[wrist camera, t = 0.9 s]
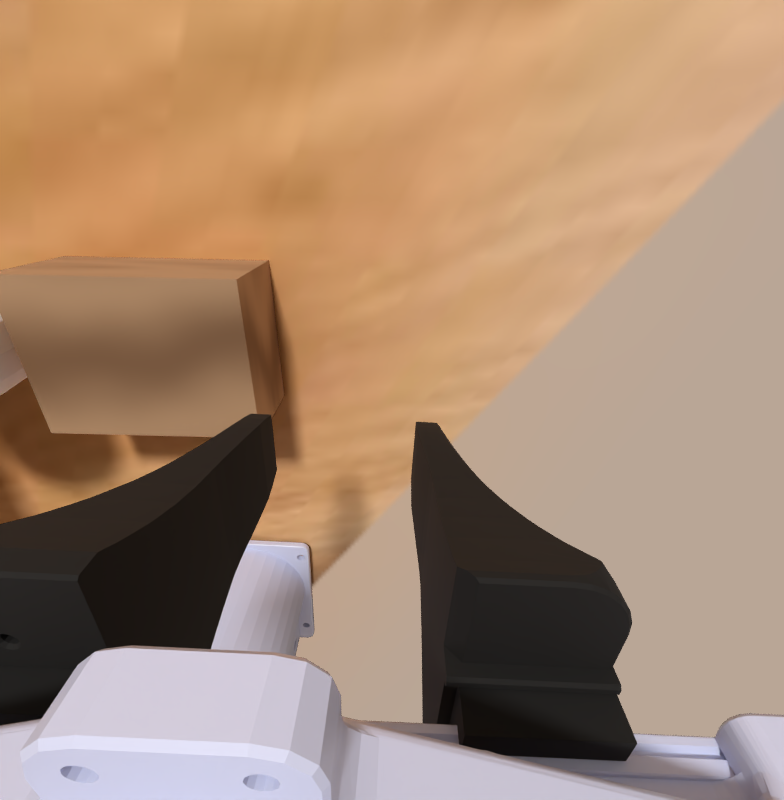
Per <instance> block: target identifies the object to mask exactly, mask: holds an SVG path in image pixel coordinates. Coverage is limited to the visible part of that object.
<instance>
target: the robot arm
mask: <svg viewBox="0 0 784 800" xmlns="http://www.w3.org/2000/svg"><path fill="white" fill-rule="evenodd" d="M276 471H277V467H276V457H275V447H274V437H273V427H272V418H271V415H270V414H249V415H247V416H245V417H244V418H242V419H241V420H239V421H237V422H236V423H234V424H233V425H231V426H230V427H228V428H227V429H225V430H224V431H222V432H221V433H219V434H217V435H216V436H214V437H213V438H211V439H210V440H208V441H207V442H205V443H203V444H202V445H200V446H198V447H197V448H195V449H193V450H192V451H190V452H188V453H186V454H185V455H183V456H181V457H180V458H178V459H176V460H174V461H173V462H171V463H169V464H167V465H165V466H163V467H161V468H159V469H157V470H155V471H153V472H151V473H149V474H147V475H145V476H143V477H140V478H138V479H136V480H134V481H132V482H129V483H127V484H124V485H122V486H119V487H117V488H114V489H112V490H109V491H107V492H104V493H101V494H99V495H96V496H94V497H91V498H88V499H85V500H82V501H79V502H76V503H74V504H71V505H67V506H64V507H61V508H58V509H55V510H51V511H48V512H45V513H41V514H38V515H34V516H31V517H27V518H23V519H19V520H15V521H11V522H7V523H3V524H0V800H784V715H772V714H752V713H749V714H739V715H736V716H733V717H730V718H729V719H727V720H726V721H725V722H724V723H723V724H722V725H721V726H720V728H719V730H718V732H717V734H716V737H698V736H677V735H656V734H655V735H654V734H635V733H633V732H632V729H631V727H630V725H629V722H628V720H627V718H626V715H625V713H624V711H623V708H622V706H621V703H620V701H619V698H618V696H617V694H618V695H619V694H620V692H621V684H620V682H619V679H618V677H617V675H616V673H615V670H614V668H613V665H614V663H615V661H616V659H617V657H618V655H619V653H620V651H621V649H622V647H623V645H624V643H625V641H626V639H627V637H628V635H629V632H630V628H631V625H632V619H631V612H630V609H629V608H628V606H627V604H626V602H625V600H624V598H623V596H622V594H621V592H620V590H619V589H618V587H617V585H616V583H615V581H614V580H613V578H612V577H611V575H610V574H609V572H608V571H607V569H606V567H605V566H604V564H603V563H602V562H601V561H600V560H598V559H596V558H594V557H592V556H590V555H588V554H586V553H584V552H583V551H581V550H579V549H577V548H575V547H573V546H571V545H568V544H567V543H565V542H563V541H561V540H560V539H558V538H556V537H554V536H553V535H551V534H550V533H548V532H546V531H545V530H543V529H542V528H540V527H538V526H537V525H535V524H534V523H532V522H531V521H529V520H528V519H526V518H525V517H524V516H522V515H521V514H520V513H518V512H517V511H516V510H514V509H513V508H512V507H510V506H509V505H508V504H507V503H505V502H504V501H503V500H502V499H500V498H499V497H498V496H497V495H496V494H495V493H494V492H492V490H490V489H489V488H488V487H487V486H486V485H485V484H484V483H483V482H482V481H481V480H480V479H479V478H478V477H477V476H476V474H475V473H474V472H473V471H472V470H471V469H470V468H469V466H468V465H467V464H466V463H465V462H464V460H463V459H462V458H461V457H460V455H459V454H458V453H457V451H456V450H455V449H454V447H453V446H452V445H451V443H450V442H449V440H448V439H447V437H446V436H445V434H444V433H443V431H442V430H441V428H440V426H439V425H438V424H437V423H428V422H416V428H415V440H414V451H413V463H412V475H411V503H412V504H411V506H412V515H413V522H414V531H415V539H416V547H417V555H418V563H419V571H420V583H421V625H422V690H423V691H422V692H423V693H422V694H423V723H403V722H382V721H381V722H380V721H360V720H355V719H350V718H346V717H342V715H341V695H340V693H339V691H338V689H337V686H336V685H335V682H334V680H333V678H332V677H331V676H330V674H329V673H328V672H327V671H325V670H323V669H322V668H320V667H318V666H317V665H315V664H314V663H312V662H310V661H308V660H307V659H305V658H301V657H296V656H295V655H296V651H297V646H298V642H299V637H311V636H313V634H314V617H313V599H312V583H311V568H310V552H309V546H308V545H307V544H305V543H297V542H277V541H257V540H250V539H251V536H252V534H253V532H254V530H255V528H256V526H257V523H258V521H259V519H260V517H261V514H262V512H263V510H264V508H265V506H266V503H267V501H268V499H269V495H270V492H271V489H272V486H273V482H274V478H275V475H276ZM301 555H303V556H301Z"/></svg>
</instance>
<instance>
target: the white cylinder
mask: <svg viewBox="0 0 784 800" xmlns="http://www.w3.org/2000/svg"><path fill="white" fill-rule="evenodd" d="M26 378H27V375H26V373H25V371H24V368H23V366H22V364H21V361H20V359H19V357H18V354H17V352H16V350H15V347H14V345H13V343H12V340H11V338H10V336H9V333H8V331H7V329H6V326H5V324H4V322H3V319H2V317H1V315H0V396H1V395H2V394H3V393H5V392H6V391H8V390H9V389H11V388H12V387H14V386H15V385H17V384H18V383H20V382H21V381H23V380H24V379H26Z"/></svg>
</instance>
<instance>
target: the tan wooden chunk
mask: <svg viewBox="0 0 784 800" xmlns="http://www.w3.org/2000/svg"><path fill="white" fill-rule="evenodd" d="M0 315H1V317H2V319H3V322H4V324H5V326H6V329H7V331H8V333H9V336H10V338H11V340H12V343H13V345H14V347H15V350H16V352H17V354H18V357H19V359H20V361H21V364H22V366H23V368H24V371H25V373H26V375H27V378H28V380H29V382H30V385H31V387H32V389H33V392H34V394H35V396H36V399H37V401H38V403H39V406H40V408H41V410H42V413H43V415H44V417H45V420H46V422H47V424H48V427H49V429H50V431H51V433H69V434H109V435H149V436H189V437H214V436H216V435H217V434H219V433H221V432H222V431H224V430H225V429H227V428H228V427H230V426H231V425H233V424H234V423H236V422H237V421H239V420H241V419H242V418H244V417H245V416H247V415H249V414H270V415H271V418H272V417H273V415H274V413H275V412H276V410H277V408H278V406H279V404H280V402H281V401H282V399H283V397H284V388H283V379H282V370H281V362H280V353H279V345H278V336H277V328H276V319H275V310H274V302H273V293H272V285H271V276H270V267H269V260H227V259H178V258H130V257H82V256H63V257H58V258H54V259H49V260H45V261H40V262H36V263H31V264H27V265H22V266H17V267H13V268H8V269H4V270H0Z"/></svg>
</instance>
